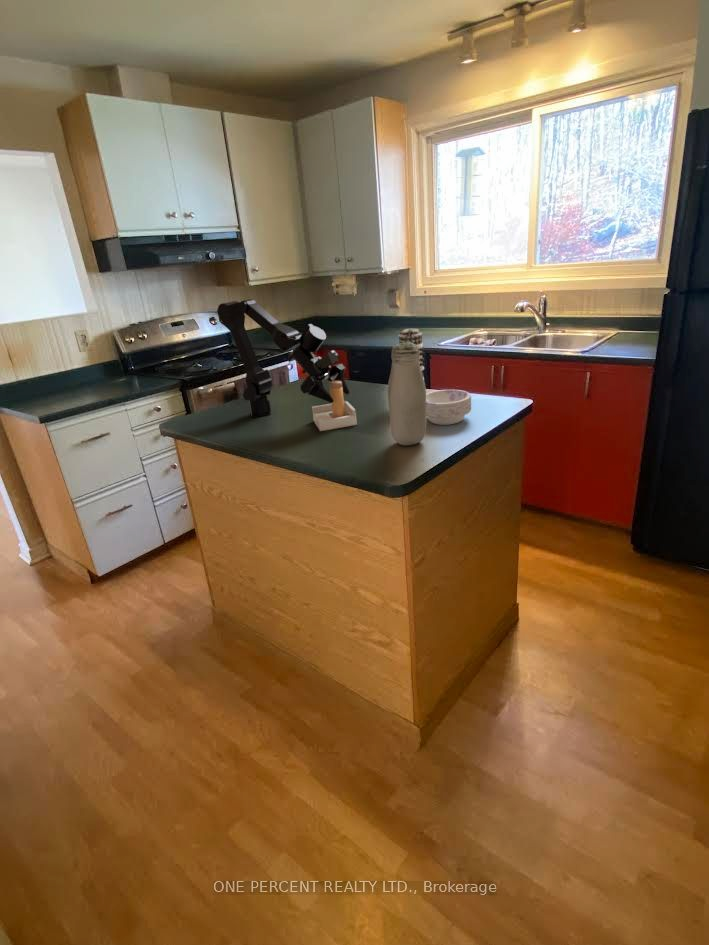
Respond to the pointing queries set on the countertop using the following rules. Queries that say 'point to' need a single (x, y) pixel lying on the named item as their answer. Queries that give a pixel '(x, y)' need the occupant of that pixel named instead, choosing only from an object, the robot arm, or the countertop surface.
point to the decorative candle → (416, 338)
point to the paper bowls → (447, 406)
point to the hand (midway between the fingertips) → (340, 397)
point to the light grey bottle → (406, 395)
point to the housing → (326, 420)
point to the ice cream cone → (337, 398)
